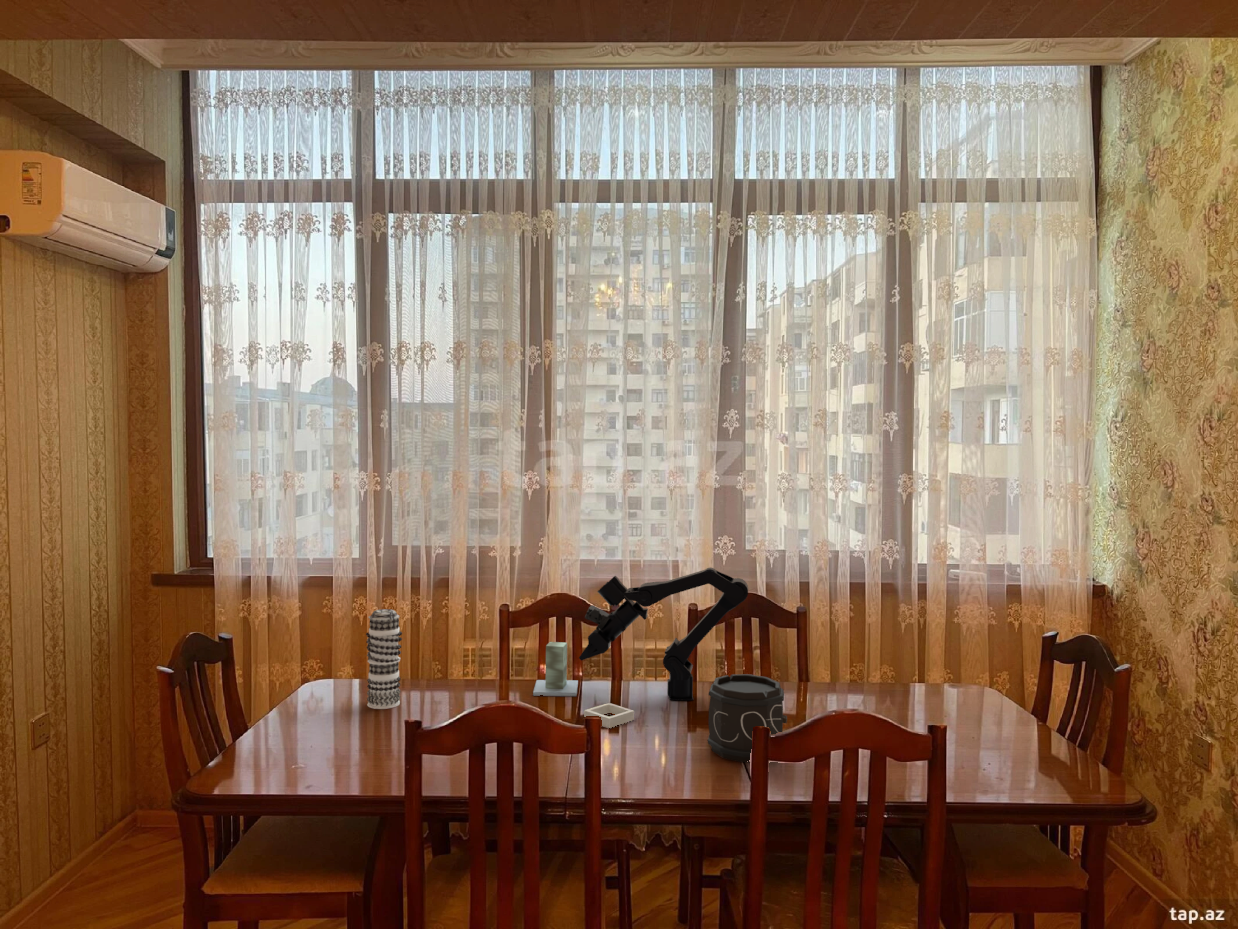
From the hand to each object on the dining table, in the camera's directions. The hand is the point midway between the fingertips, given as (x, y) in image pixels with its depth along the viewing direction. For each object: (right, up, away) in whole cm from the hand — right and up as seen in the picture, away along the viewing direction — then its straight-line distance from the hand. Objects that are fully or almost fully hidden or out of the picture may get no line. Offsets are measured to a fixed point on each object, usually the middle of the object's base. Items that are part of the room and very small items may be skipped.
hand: (583, 655), depth 245 cm
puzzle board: (+8, -11, -24) cm, 28 cm away
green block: (-8, -9, +2) cm, 12 cm away
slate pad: (-8, -10, +2) cm, 13 cm away
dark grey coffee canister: (+40, -13, -44) cm, 61 cm away
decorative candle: (-53, -10, -14) cm, 55 cm away
